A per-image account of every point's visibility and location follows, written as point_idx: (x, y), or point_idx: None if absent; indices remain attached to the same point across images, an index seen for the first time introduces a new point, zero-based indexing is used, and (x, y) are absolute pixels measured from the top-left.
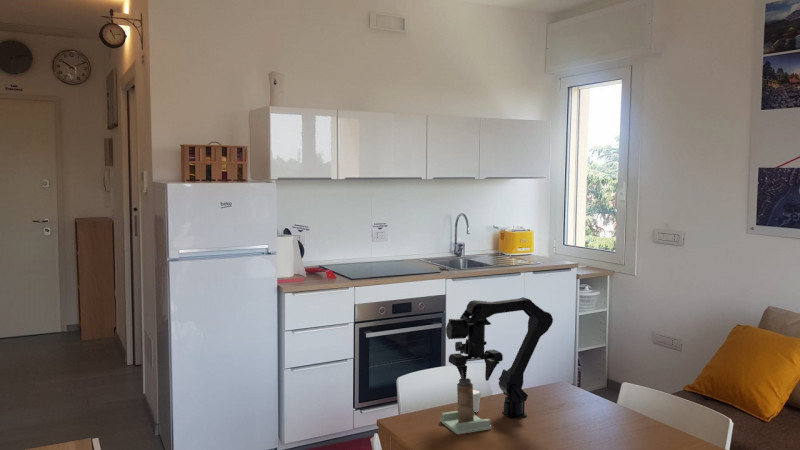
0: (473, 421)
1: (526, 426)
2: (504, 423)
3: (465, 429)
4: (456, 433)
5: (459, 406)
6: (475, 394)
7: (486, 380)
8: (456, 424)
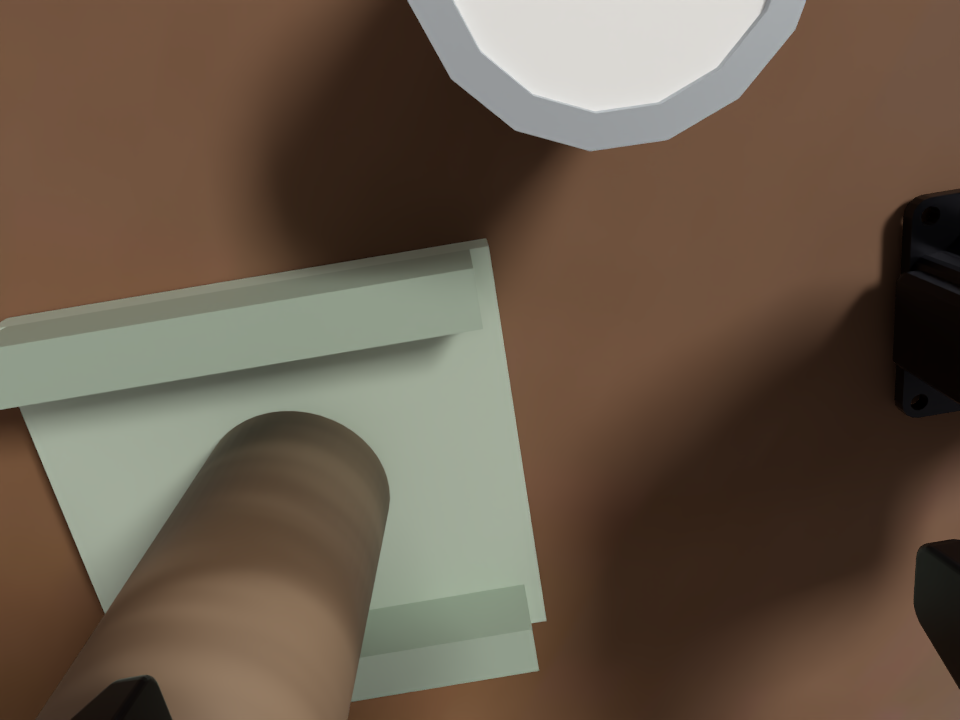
0: None
1: (907, 601)
2: (744, 498)
3: None
4: None
5: None
6: (622, 145)
7: (915, 585)
8: None
